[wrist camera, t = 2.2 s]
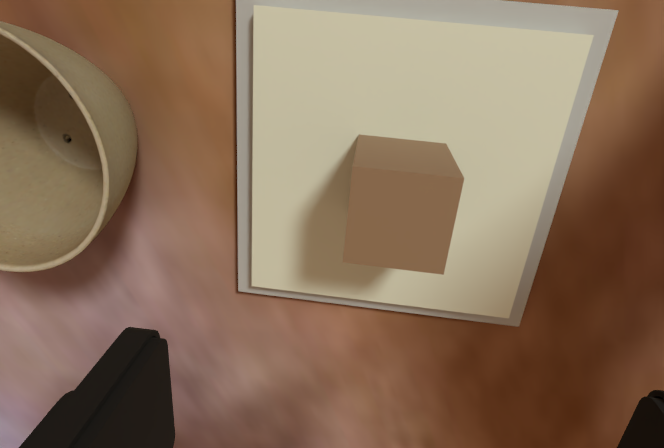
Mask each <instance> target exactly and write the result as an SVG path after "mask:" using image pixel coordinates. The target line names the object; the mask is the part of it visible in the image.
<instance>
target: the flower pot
mask: <svg viewBox="0 0 664 448" xmlns="http://www.w3.org/2000/svg"><path fill="white" fill-rule="evenodd" d="M71 96H72V97H71ZM69 138H71V139H72V140H71V141H70V142H69ZM137 147H138V135H137V128H136V123H135V119H134V116H133V112H132V110H131V108H130V106H129V103H128V102H127V100H126V98H125V97H124V95H123V94H122V92H121V91H120V89H119V88H118V87H117V86H116V85H115V83H114V82H113V81H112V80H111V79H110V78H109V77H108V76H107V75H106V74H105V73H103V72H102V71H101V70H100V69H99V68H98V67H96V66H95V65H94V64H92V63H91V62H89V61H88V60H87V59H85V58H84V57H82V56H80V55H79V54H77V53H76V52H74V51H72V50H71V49H69V48H67V47H65V46H63V45H61V44H59V43H57V42H55V41H53V40H51V39H49V38H47V37H44V36H42V35H40V34H37V33H35V32H32V31H29V30H27V29H24V28H21V27H18V26H15V25H12V24H9V23H5V22H2V21H0V270H3V271H10V272H32V271H40V270H46V269H50V268H53V267H56V266H58V265H61V264H63V263H65V262H67V261H69V260H71V259H72V258H74V257H75V256H77V255H78V254H79V253H81V252H82V251H83V250H84V249H85V248H86V247H87V246H88V245H89V244H90V243H91V242H92V241H93V240H94V239H95V238H96V237H97V236H98V234H99V233H100V232H101V231H102V229H103V228H104V227H105V226H106V224H107V223H108V222H109V220H110V219H111V217H112V216H113V214H114V213H115V211H116V210H117V208H118V206H119V205H120V203H121V201H122V199H123V197H124V195H125V193H126V191H127V189H128V186H129V184H130V181H131V178H132V175H133V171H134V168H135V163H136V156H137Z"/></svg>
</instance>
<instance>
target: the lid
mask: <svg viewBox="0 0 664 448" xmlns="http://www.w3.org/2000/svg"><path fill="white" fill-rule="evenodd" d="M593 37H594V35H586V34H575V33H563V32H552V31H541V30H530V29H518V28H507V27H496V26H485V25H473V24H462V23H451V22H440V21H428V20H417V19H406V18H394V17H383V16H372V15H361V14H349V13H338V12H327V11H316V10H304V9H293V8H282V7H271V6H259V5H254V16H253V158H252V286H255V287H263V288H271V289H279V290H287V291H294V292H302V293H310V294H318V295H326V296H334V297H342V298H350V299H358V300H366V301H374V302H382V303H390V304H398V305H406V306H414V307H422V308H430V309H438V310H446V311H454V312H462V313H470V314H477V315H485V316H493V317H501V318H509V316H510V313H511V309H512V306H513V303H514V299H515V296H516V293H517V289H518V286H519V283H520V280H521V276H522V273H523V270H524V266H525V263H526V260H527V256H528V253H529V250H530V246H531V243H532V240H533V236H534V233H535V230H536V226H537V223H538V220H539V216H540V213H541V210H542V206H543V203H544V200H545V196H546V193H547V190H548V186H549V183H550V180H551V176H552V173H553V170H554V166H555V163H556V160H557V156H558V153H559V150H560V146H561V143H562V140H563V136H564V133H565V130H566V126H567V123H568V120H569V116H570V113H571V110H572V106H573V103H574V100H575V96H576V93H577V90H578V86H579V83H580V80H581V76H582V73H583V70H584V66H585V63H586V60H587V56H588V53H589V50H590V46H591V43H592V40H593Z"/></svg>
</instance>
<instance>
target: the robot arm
mask: <svg viewBox="0 0 664 448" xmlns="http://www.w3.org/2000/svg"><path fill="white" fill-rule="evenodd" d="M174 440H175V428H174V416H173V404H172V391H171V379H170V367H169V355H168V344H167V341H166V339H162V338H160V335H159V333H158V331H156V330H150V329H141V328H133V327H128V328H126V329H125V330H124V331H123V332H122V333H121V334H120V335H119V336H118V338H117V339H116V340H115V341H114V343H113V344H112V345H111V346H110V347H109V349H108V350H107V351H106V352H105V354H104V355H103V356H102V357H101V359H100V360H99V361H98V362H97V363H96V365H95V366H94V367H93V368H92V370H91V371H90V372H89V373H88V374H87V376H86V377H85V378H84V379H83V381H82V382H81V383H80V384H79V385H78V387H77V388H76V389H75V390H74V391H70V392H68V393H66V394H65V395H64V396H63V397H62V398H61V399H60V400H59V401H58V402H57V403H56V404H55V405H54V406H53V408H52V409H51V410H50V411H49V412H48V414H47V415H46V416H45V417H44V418H43V420H42V421H41V422H40V423H39V424H38V426H37V427H36V428H35V429H34V430H33V432H32V433H31V434H30V435H29V436H28V437H27V439H26V440H25V441H24V442H23V443H22V445H21V446H20V447H19V448H173V445H174ZM617 448H664V391H661V390H654V391H652V392H650V393H649V395H648V396H647V397H643V398H641V400H640V401H639V403H638V405H637V407H636V409H635V411H634V413H633V416H632V418H631V420H630V422H629V424H628V426H627V428H626V430H625V432H624V434H623V436H622V438H621V441H620V443H619V445H618V447H617Z"/></svg>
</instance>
